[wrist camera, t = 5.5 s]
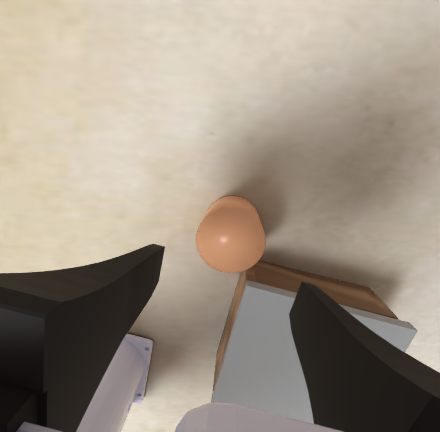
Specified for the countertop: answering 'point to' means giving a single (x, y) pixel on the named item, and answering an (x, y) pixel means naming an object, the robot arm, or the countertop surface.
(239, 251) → the tan rounded cylinder
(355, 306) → the box
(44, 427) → the robot arm
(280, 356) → the lid
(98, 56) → the countertop surface
